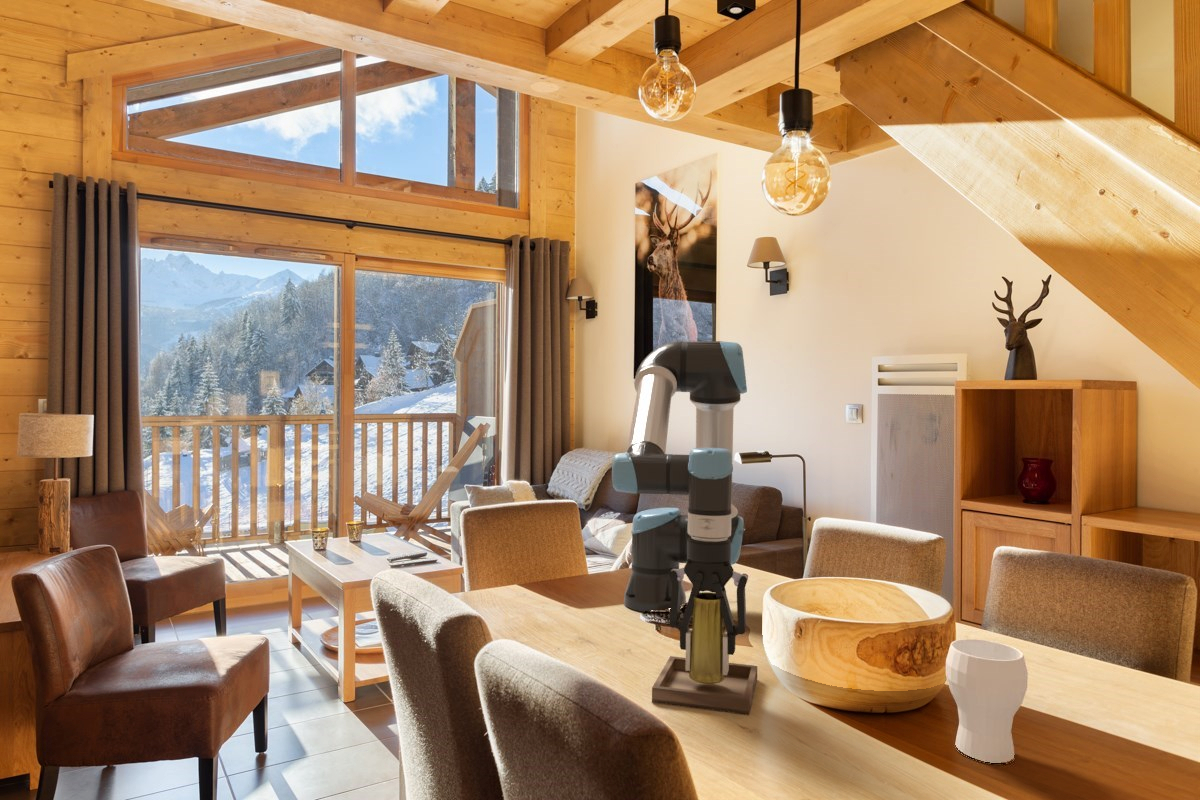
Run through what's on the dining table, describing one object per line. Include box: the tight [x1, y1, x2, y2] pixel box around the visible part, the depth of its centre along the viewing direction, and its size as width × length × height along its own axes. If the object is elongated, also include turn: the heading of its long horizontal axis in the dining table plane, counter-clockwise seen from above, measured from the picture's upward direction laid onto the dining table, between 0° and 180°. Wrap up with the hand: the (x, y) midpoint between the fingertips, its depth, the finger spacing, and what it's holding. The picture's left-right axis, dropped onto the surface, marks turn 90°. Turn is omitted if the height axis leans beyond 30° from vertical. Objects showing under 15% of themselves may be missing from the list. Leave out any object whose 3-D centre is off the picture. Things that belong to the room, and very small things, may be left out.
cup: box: [945, 638, 1029, 764], centre depth 111 cm, size 11×11×15 cm
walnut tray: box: [651, 655, 758, 716], centre depth 132 cm, size 16×16×2 cm
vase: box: [689, 591, 725, 684], centre depth 132 cm, size 6×6×14 cm
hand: (707, 669), depth 132 cm, fingers closed on vase, 6 cm apart
